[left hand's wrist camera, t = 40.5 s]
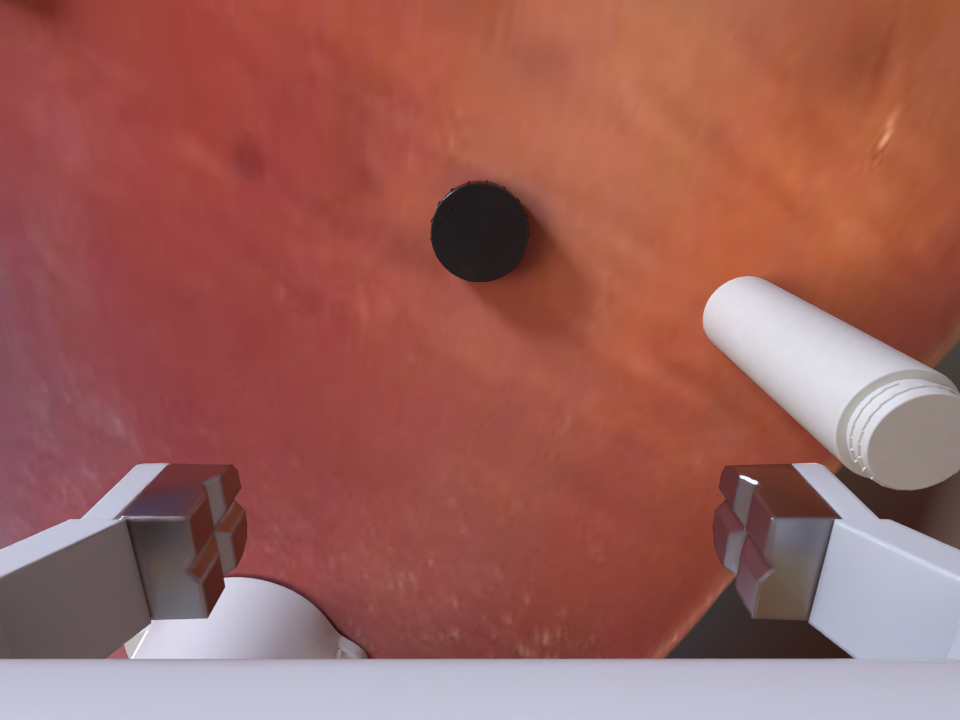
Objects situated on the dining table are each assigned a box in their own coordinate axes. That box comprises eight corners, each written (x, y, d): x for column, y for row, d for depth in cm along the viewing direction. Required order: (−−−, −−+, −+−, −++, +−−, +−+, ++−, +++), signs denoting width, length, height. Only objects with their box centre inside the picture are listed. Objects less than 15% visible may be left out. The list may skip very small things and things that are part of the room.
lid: (547, 230, 36) (550, 234, 35) (479, 295, 38) (479, 303, 36) (480, 158, 35) (480, 159, 33) (412, 229, 36) (408, 234, 35)
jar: (686, 327, 39) (826, 463, 23) (737, 260, 37) (924, 358, 21) (746, 365, 40) (921, 520, 24) (798, 301, 38) (1021, 423, 22)
